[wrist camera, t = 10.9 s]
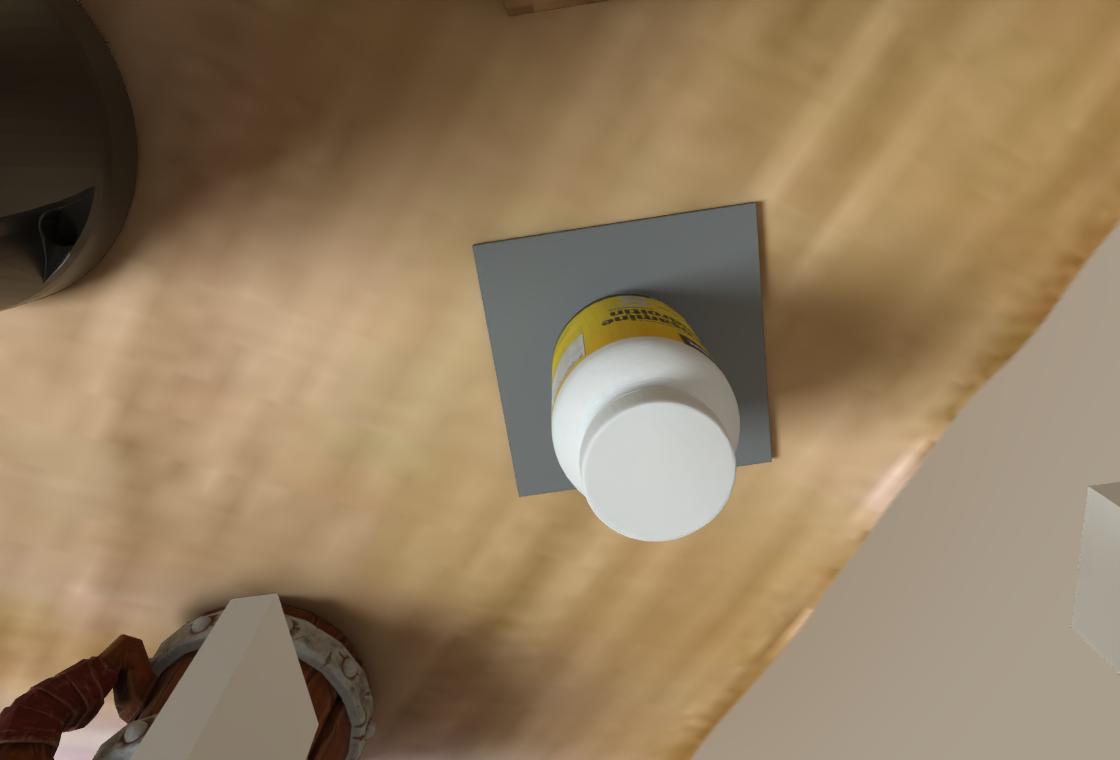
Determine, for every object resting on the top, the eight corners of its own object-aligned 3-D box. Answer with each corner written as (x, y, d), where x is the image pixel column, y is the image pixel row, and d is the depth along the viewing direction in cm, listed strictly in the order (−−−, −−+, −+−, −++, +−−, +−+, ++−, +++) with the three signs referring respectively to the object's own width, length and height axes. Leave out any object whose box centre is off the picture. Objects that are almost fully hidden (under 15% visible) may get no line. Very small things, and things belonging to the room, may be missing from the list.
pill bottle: (726, 359, 33) (814, 473, 22) (621, 454, 35) (656, 605, 24) (625, 257, 32) (666, 326, 21) (520, 360, 33) (507, 477, 22)
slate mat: (519, 493, 36) (519, 496, 35) (473, 244, 32) (472, 245, 31) (769, 458, 35) (771, 461, 35) (753, 201, 31) (755, 203, 31)
